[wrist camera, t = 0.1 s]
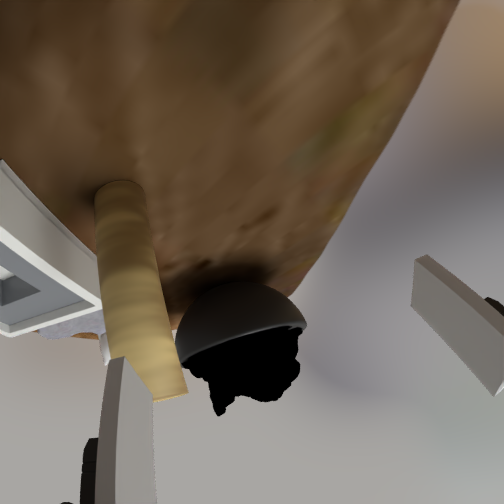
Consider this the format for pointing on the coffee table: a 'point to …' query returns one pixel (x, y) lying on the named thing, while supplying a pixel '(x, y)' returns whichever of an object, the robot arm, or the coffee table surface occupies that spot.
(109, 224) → the peg
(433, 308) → the robot arm
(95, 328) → the stone block
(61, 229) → the hole box
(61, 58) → the coffee table surface
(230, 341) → the coal bowl
